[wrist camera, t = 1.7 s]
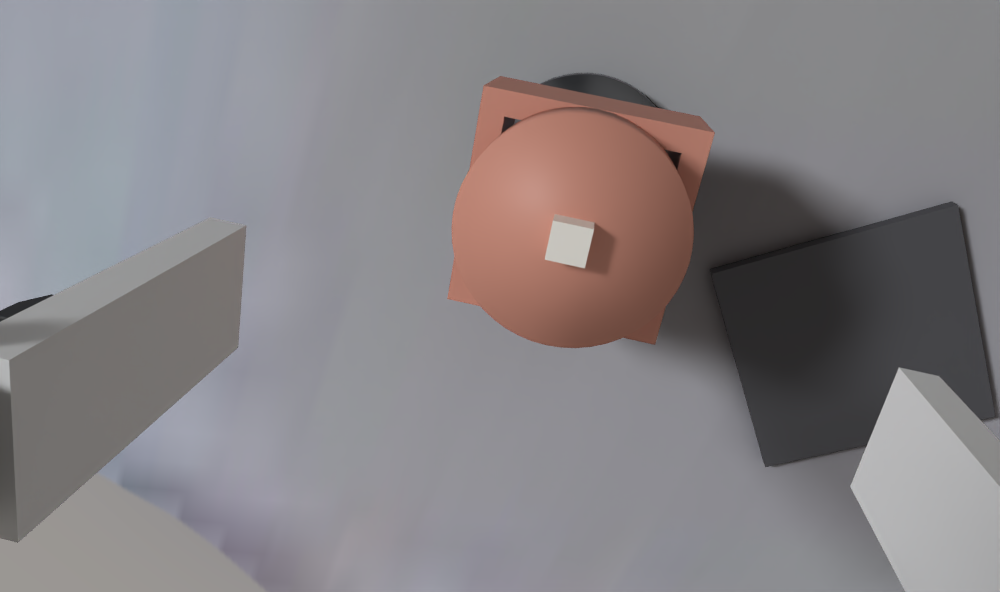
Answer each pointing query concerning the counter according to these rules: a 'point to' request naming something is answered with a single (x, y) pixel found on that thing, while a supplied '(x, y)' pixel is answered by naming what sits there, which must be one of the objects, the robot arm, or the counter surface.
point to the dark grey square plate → (851, 329)
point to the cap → (576, 213)
